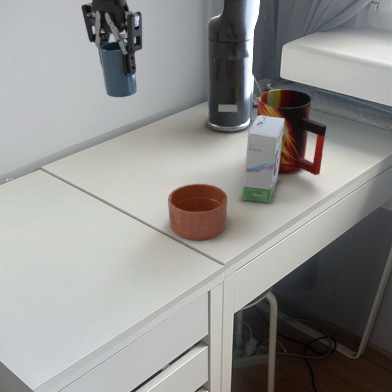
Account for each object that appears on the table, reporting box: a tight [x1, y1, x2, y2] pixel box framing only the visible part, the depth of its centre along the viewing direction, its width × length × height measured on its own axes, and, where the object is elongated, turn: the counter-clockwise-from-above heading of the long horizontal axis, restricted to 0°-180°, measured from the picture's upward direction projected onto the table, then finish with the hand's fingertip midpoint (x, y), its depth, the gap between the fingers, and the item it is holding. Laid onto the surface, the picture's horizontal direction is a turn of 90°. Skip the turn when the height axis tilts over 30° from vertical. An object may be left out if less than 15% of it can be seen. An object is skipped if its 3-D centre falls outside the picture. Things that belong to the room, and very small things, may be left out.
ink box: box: [242, 115, 285, 204], centre depth 88 cm, size 9×5×12 cm, turn 164°
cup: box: [98, 41, 138, 98], centre depth 97 cm, size 6×6×8 cm
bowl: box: [167, 183, 228, 241], centre depth 82 cm, size 9×9×5 cm
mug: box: [257, 88, 327, 176], centre depth 95 cm, size 10×14×12 cm
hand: (118, 71), depth 97 cm, fingers closed on cup, 6 cm apart
